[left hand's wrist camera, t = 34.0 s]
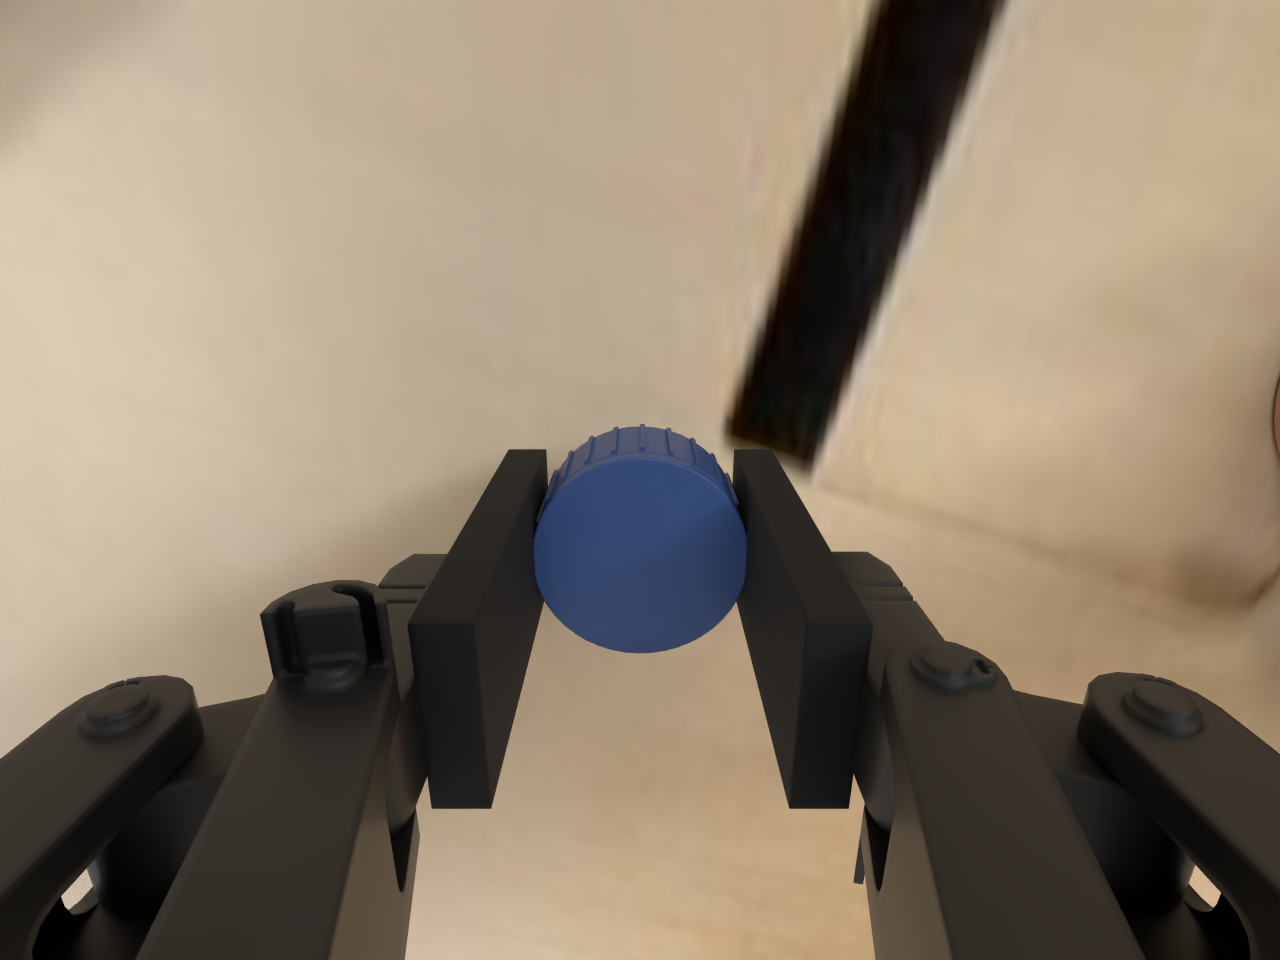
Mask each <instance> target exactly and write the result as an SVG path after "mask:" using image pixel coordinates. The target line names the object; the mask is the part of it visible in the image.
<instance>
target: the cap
mask: <svg viewBox="0 0 1280 960" xmlns="http://www.w3.org/2000/svg"><path fill="white" fill-rule="evenodd" d="M738 504H739V502H738V499H737V496H736V494H735V491H734V488H733V485H732V482H731V480H730V477H729V475H728V473H726V474H724V472H723V470H722V469H721V467H720V466H719V464H718V463H717V461H716V458H715V455H714V454H713V453H711V454H709V453H708V452H707V451H705V450H704V449H703V448H702V447H701V446H699V445H698V444H696V442H695V439H694V438H691V439H688V438H686V437H684V436H682V435H680V434H677V433H674V432H671V428H667V429H666V430H664V429H660V428H654V427H645V424H640V427H627V428H621V429H618V427H614V430H613V431H610V432H606V433H603V434H601V435H599V436H597V437H595V438H594V437H593V436H591V437H589V441H588V442H586V443H585V444H583V445H581V446H580V447H579V448H578V449H577V450H575V451H574V452H573V451H572V450H571V451H570V452H569V454H568V457H567V459H566V460H565V462H564V463H563V464H562V466H561V467H560V469H559V470H558V471H557V470H555V471H554V473H553V476H552V478H551V481H550V484H549V487H548V490H547V492H546V495H545V498H544V500H543V503H542V506H541V509H540V512H539V515H538V518H537V520H536V526H537V527H536V530H535V534H534V561H535V577H536V584H537V586H538V588H539V591H540V593H541V595H542V597H543V599H544V601H545V602H546V604H547V606H548V607H549V608H550V610H551V611H552V612H553V614H554V615H555V616H556V617H557V618H558V619H559V620H560V621H561V622H562V623H563V624H564V625H565V626H566V627H567V628H569V629H570V630H571V631H573V632H574V633H575V634H577V635H578V636H580V637H582V638H583V639H585V640H587V641H589V642H591V643H594V644H596V645H598V646H601V647H604V648H608V649H611V650H615V651H621V652H628V653H654V652H660V651H666V650H670V649H673V648H677V647H680V646H682V645H685V644H687V643H690V642H692V641H694V640H696V639H697V638H699V637H701V636H703V635H704V634H706V633H707V632H708V631H710V630H711V629H713V628H714V627H715V626H716V625H717V624H718V623H719V622H720V621H721V620H722V619H723V618H724V617H725V616H726V615H727V614H728V612H729V611H730V610H731V609H732V607H733V605H734V604H735V602H736V601H737V599H738V597H739V595H740V593H741V591H742V589H743V586H744V583H745V569H746V551H747V534H746V530H745V527H744V524H743V521H742V518H741V515H740V512H739V509H738V506H737V505H738Z"/></svg>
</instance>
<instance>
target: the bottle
mask: <svg viewBox="0 0 1280 960" xmlns="http://www.w3.org/2000/svg"><path fill="white" fill-rule="evenodd" d="M1274 425H1275V437H1276V442H1277V447H1278V451H1279V454H1280V382H1279V387H1278V391H1277V395H1276V402H1275V413H1274Z"/></svg>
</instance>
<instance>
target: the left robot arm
mask: <svg viewBox="0 0 1280 960" xmlns="http://www.w3.org/2000/svg"><path fill="white" fill-rule="evenodd" d="M732 485H733V488H734V491H735V494H736V496H737V499H738V502H739V504H738V505H737V506H738V509H739V512H740V515H741V518H742V521H743V524H744V527H745V530H746V534H747V551H746V569H745V583H744V586H743V589H742V591H741V593H740V595H739V597H738V599H737V601H736V602H737V605H738V609H739V613H740V617H741V621H742V625H743V629H744V633H745V637H746V641H747V645H748V649H749V652H750V656H751V660H752V664H753V668H754V672H755V676H756V680H757V684H758V688H759V692H760V695H761V699H762V703H763V707H764V711H765V715H766V719H767V723H768V727H769V731H770V735H771V739H772V742H773V746H774V750H775V754H776V758H777V762H778V766H779V770H780V774H781V778H782V782H783V786H784V789H785V793H786V797H787V801H788V805H789V809H849V803H850V795H851V788H852V780H853V773H854V776H855V778H856V781H857V784H858V786H859V789H860V791H861V794H862V796H863V799H864V802H865V805H864V812H863V819H862V826H861V833H860V840H859V847H858V854H857V861H856V868H855V875H854V883H858V884H863V881H864V875H865V878H866V886H867V894H868V903H869V911H870V919H871V927H872V935H873V943H874V951H875V959H876V960H1280V754H1279V753H1278V752H1277V751H1275V750H1274V749H1273V748H1271V747H1270V746H1269V745H1268V744H1266V743H1265V742H1264V741H1263V740H1261V739H1260V738H1259V737H1257V736H1256V735H1255V734H1254V733H1252V732H1251V731H1250V730H1248V729H1247V728H1246V727H1245V726H1243V725H1242V724H1241V723H1240V722H1238V721H1237V720H1236V719H1234V718H1233V717H1232V716H1231V715H1229V714H1228V713H1227V712H1225V711H1224V710H1223V709H1222V708H1220V707H1219V706H1217V705H1215V704H1214V703H1212V702H1211V701H1209V700H1208V699H1206V698H1204V697H1203V696H1201V695H1200V694H1198V693H1196V692H1194V691H1191V690H1189V689H1187V688H1184V687H1182V686H1180V685H1177V684H1176V683H1175V682H1173V681H1170V680H1167V679H1163V678H1160V677H1158V678H1155V676H1152V675H1146V674H1135V673H1123V672H1115V673H1109V674H1103V675H1099V676H1097V677H1096V678H1095V679H1094V680H1093V681H1091V682H1090V683H1089V684H1088V688H1087V692H1086V696H1085V700H1084V703H1083V705H1082V704H1077V703H1072V702H1066V701H1061V700H1056V699H1051V698H1046V697H1041V696H1035V695H1031V694H1027V693H1023V692H1019V691H1015V690H1013V689H1012V687H1011V685H1010V683H1009V681H1008V679H1007V677H1006V676H1005V674H1004V673H1003V672H1002V671H1001V670H1000V668H999V667H998V666H997V665H996V663H994V662H993V661H991V660H990V659H988V658H986V657H985V656H983V655H982V654H980V653H979V652H977V651H975V650H972V649H970V648H967V647H964V646H962V645H959V644H957V643H953V642H948V641H945V640H944V639H943V638H942V636H941V635H940V633H939V632H938V631H937V629H936V628H935V627H934V625H933V624H932V623H931V621H930V620H929V618H928V617H927V616H926V614H925V613H924V612H923V610H922V609H921V608H920V606H919V605H918V603H917V602H916V601H913V597H912V595H911V594H910V593H909V591H908V590H907V588H906V587H903V583H902V582H901V580H900V579H899V578H898V576H897V575H896V573H895V572H894V571H893V569H892V568H891V567H890V566H889V565H887V564H886V563H884V562H883V561H881V560H879V559H878V558H876V557H875V556H873V555H871V554H870V553H868V552H831V550H830V548H829V547H828V545H827V543H826V542H825V540H824V538H823V537H822V535H821V533H820V531H819V530H818V528H817V526H816V525H815V523H814V521H813V519H812V518H811V516H810V514H809V513H808V511H807V509H806V508H805V506H804V504H803V502H802V501H801V499H800V497H799V496H798V494H797V492H796V490H795V489H794V487H793V485H792V484H791V482H790V480H789V479H788V477H787V475H786V473H785V472H784V470H783V468H782V467H781V465H780V463H779V461H778V460H777V458H776V456H775V455H774V453H773V451H772V449H734V464H733V484H732ZM547 490H548V475H547V455H546V449H509V450H508V452H507V454H506V455H505V457H504V459H503V461H502V462H501V464H500V466H499V467H498V469H497V471H496V472H495V474H494V476H493V478H492V479H491V481H490V483H489V484H488V486H487V488H486V490H485V491H484V493H483V495H482V496H481V498H480V500H479V501H478V503H477V505H476V507H475V508H474V510H473V512H472V513H471V515H470V517H469V519H468V520H467V522H466V524H465V525H464V527H463V529H462V531H461V532H460V534H459V536H458V537H457V539H456V541H455V542H454V544H453V546H452V548H451V549H450V551H449V553H448V554H413V555H411V556H410V557H408V558H407V559H405V560H404V561H402V562H400V563H399V564H397V565H396V566H394V567H392V568H391V569H390V570H389V571H388V573H387V574H386V576H385V577H384V578H383V580H382V581H381V582H380V584H379V585H378V586H376V585H375V584H371V583H367V582H363V581H359V580H336V581H330V582H324V583H318V584H313V585H310V586H307V587H304V588H301V589H298V590H295V591H292V592H289V593H288V594H286V595H284V596H282V597H280V598H279V599H277V600H275V601H273V602H272V603H271V604H270V605H269V606H268V607H267V608H266V609H265V610H264V611H263V612H262V613H261V614H260V617H261V622H262V626H263V631H264V636H265V640H266V645H267V649H268V654H269V659H270V663H271V668H272V672H273V677H274V678H273V680H272V682H271V684H270V686H269V688H268V690H267V692H266V694H262V695H258V696H254V697H250V698H246V699H241V700H235V701H230V702H225V703H220V704H215V705H210V706H205V707H200V708H198V705H197V701H196V697H195V694H194V690H193V687H192V686H191V685H190V684H189V683H187V682H186V681H185V680H184V679H182V678H177V677H171V676H166V675H161V676H149V677H137V678H131V679H127V681H124V680H122V681H119V682H116V683H113V684H110V685H107V686H106V687H105V688H103V689H100V690H98V691H96V692H93V693H91V694H89V695H86V696H84V697H83V698H81V699H79V700H78V701H76V702H75V703H73V704H72V705H70V706H68V707H67V708H65V709H64V710H62V711H61V712H59V713H58V714H57V715H56V716H54V717H53V718H52V719H51V720H49V721H48V722H47V723H45V724H44V725H43V726H42V727H40V728H39V729H38V730H37V731H35V732H34V733H33V734H32V735H30V736H29V737H28V738H26V739H25V740H24V741H23V742H21V743H20V744H19V745H18V746H16V747H15V748H14V749H13V750H11V751H10V752H9V753H8V754H6V755H5V756H4V757H2V758H1V759H0V960H405V952H406V944H407V936H408V928H409V920H410V912H411V904H412V896H413V888H414V880H415V872H416V864H417V856H418V848H419V840H420V834H419V826H418V819H417V812H416V804H417V801H418V799H419V796H420V794H421V791H422V788H423V786H424V783H425V781H426V778H427V777H428V784H429V792H430V799H431V807H432V809H491V807H492V803H493V799H494V795H495V791H496V787H497V783H498V779H499V776H500V772H501V768H502V764H503V760H504V756H505V752H506V748H507V744H508V740H509V736H510V732H511V729H512V725H513V721H514V717H515V713H516V709H517V705H518V701H519V697H520V693H521V689H522V685H523V682H524V678H525V674H526V670H527V666H528V662H529V658H530V654H531V650H532V646H533V642H534V638H535V635H536V631H537V627H538V623H539V619H540V615H541V611H542V607H543V603H544V599H543V597H542V595H541V593H540V591H539V588H538V586H537V584H536V577H535V561H534V534H535V530H536V527H537V526H536V520H537V518H538V515H539V512H540V509H541V506H542V503H543V500H544V498H545V495H546V492H547ZM1195 865H1196V866H1197V867H1198V868H1199V869H1200V870H1201V871H1202V872H1203V873H1204V874H1205V876H1206V877H1207V878H1208V879H1209V880H1210V881H1211V882H1212V883H1213V884H1214V885H1215V886H1216V887H1217V889H1218V890H1219V891H1220V892H1221V895H1220V897H1219V900H1218V902H1217V904H1216V906H1215V907H1214V908H1213V907H1211V906H1210V905H1209V904H1208V903H1207V902H1206V901H1204V900H1203V899H1202V898H1201V897H1200V896H1199V895H1198V894H1197V892H1196V891H1195V890H1194V889H1193V888H1192V887H1191V886H1190V885H1189V881H1190V878H1191V875H1192V872H1193V870H1194V867H1195ZM86 868H87V871H88V873H89V876H90V879H91V882H92V884H93V887H92V888H91V889H90V890H89V892H88V893H87V894H86V895H85V896H84V897H83V898H82V899H81V900H80V901H79V902H78V903H77V904H75V905H74V906H73V907H72V908H71V909H69V910H68V909H67V908H66V907H65V906H64V903H63V901H62V898H61V896H62V895H63V893H64V892H65V891H66V890H67V889H68V888H69V887H70V886H71V885H72V884H73V883H74V881H75V880H76V879H77V878H78V877H79V876H80V875H81V874H82V873H83V872H84V871H85V869H86Z"/></svg>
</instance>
